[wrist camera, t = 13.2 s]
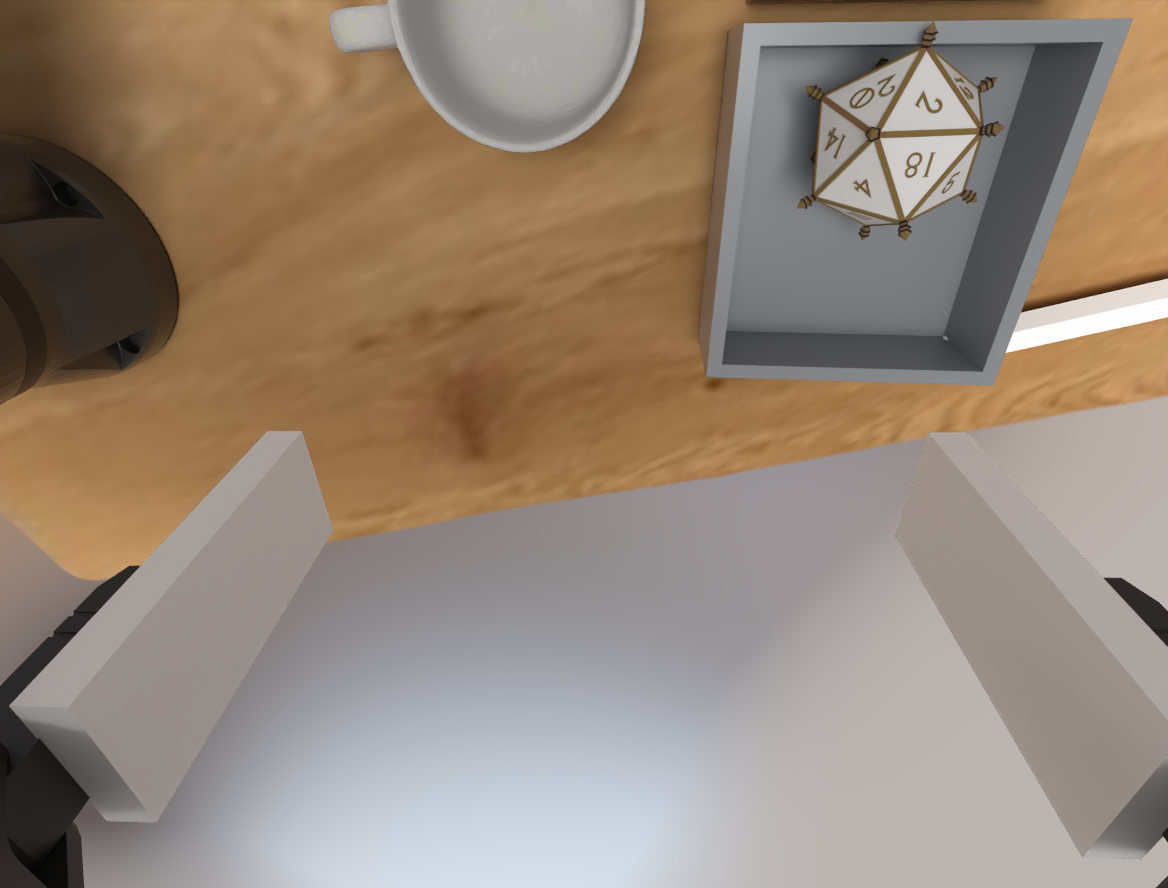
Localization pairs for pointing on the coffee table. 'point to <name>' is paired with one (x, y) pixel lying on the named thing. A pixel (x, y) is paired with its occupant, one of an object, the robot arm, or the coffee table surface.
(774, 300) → the bin
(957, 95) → the game die
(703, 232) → the coffee table surface
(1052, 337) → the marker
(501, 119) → the teacup
